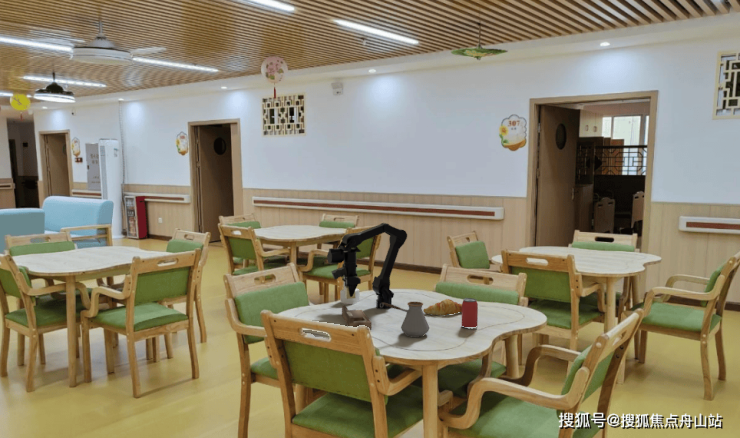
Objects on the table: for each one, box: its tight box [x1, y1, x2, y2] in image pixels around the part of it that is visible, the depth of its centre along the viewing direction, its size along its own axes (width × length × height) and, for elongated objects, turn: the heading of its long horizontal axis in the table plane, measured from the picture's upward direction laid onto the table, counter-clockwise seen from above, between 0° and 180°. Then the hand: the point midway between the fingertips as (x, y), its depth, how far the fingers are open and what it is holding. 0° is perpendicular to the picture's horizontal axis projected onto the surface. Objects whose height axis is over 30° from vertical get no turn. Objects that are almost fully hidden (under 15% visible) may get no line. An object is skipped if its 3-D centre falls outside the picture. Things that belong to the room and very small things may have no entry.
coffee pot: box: [380, 301, 430, 338], centre depth 224 cm, size 21×12×15 cm, turn 115°
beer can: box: [461, 297, 479, 327], centre depth 236 cm, size 7×7×12 cm
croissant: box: [422, 298, 462, 316], centre depth 258 cm, size 21×10×8 cm, turn 103°
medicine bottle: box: [339, 281, 360, 305], centre depth 275 cm, size 7×7×12 cm
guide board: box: [341, 305, 372, 330], centre depth 243 cm, size 9×20×6 cm, turn 13°
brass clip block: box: [345, 286, 355, 299], centre depth 257 cm, size 4×4×5 cm
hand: (350, 295), depth 257 cm, fingers closed on brass clip block, 4 cm apart
